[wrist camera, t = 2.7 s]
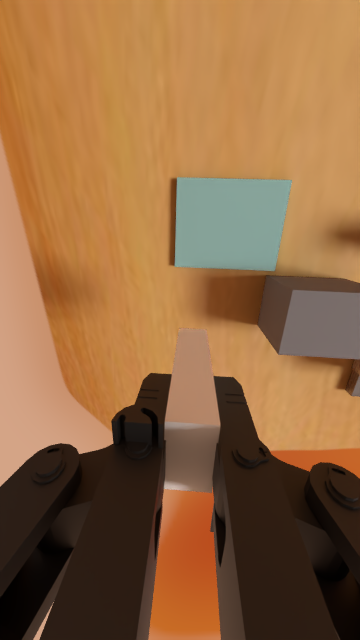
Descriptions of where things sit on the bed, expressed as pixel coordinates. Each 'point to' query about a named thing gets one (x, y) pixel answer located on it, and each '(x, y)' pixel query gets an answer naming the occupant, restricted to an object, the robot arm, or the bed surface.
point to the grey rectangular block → (311, 316)
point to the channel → (354, 380)
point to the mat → (230, 222)
